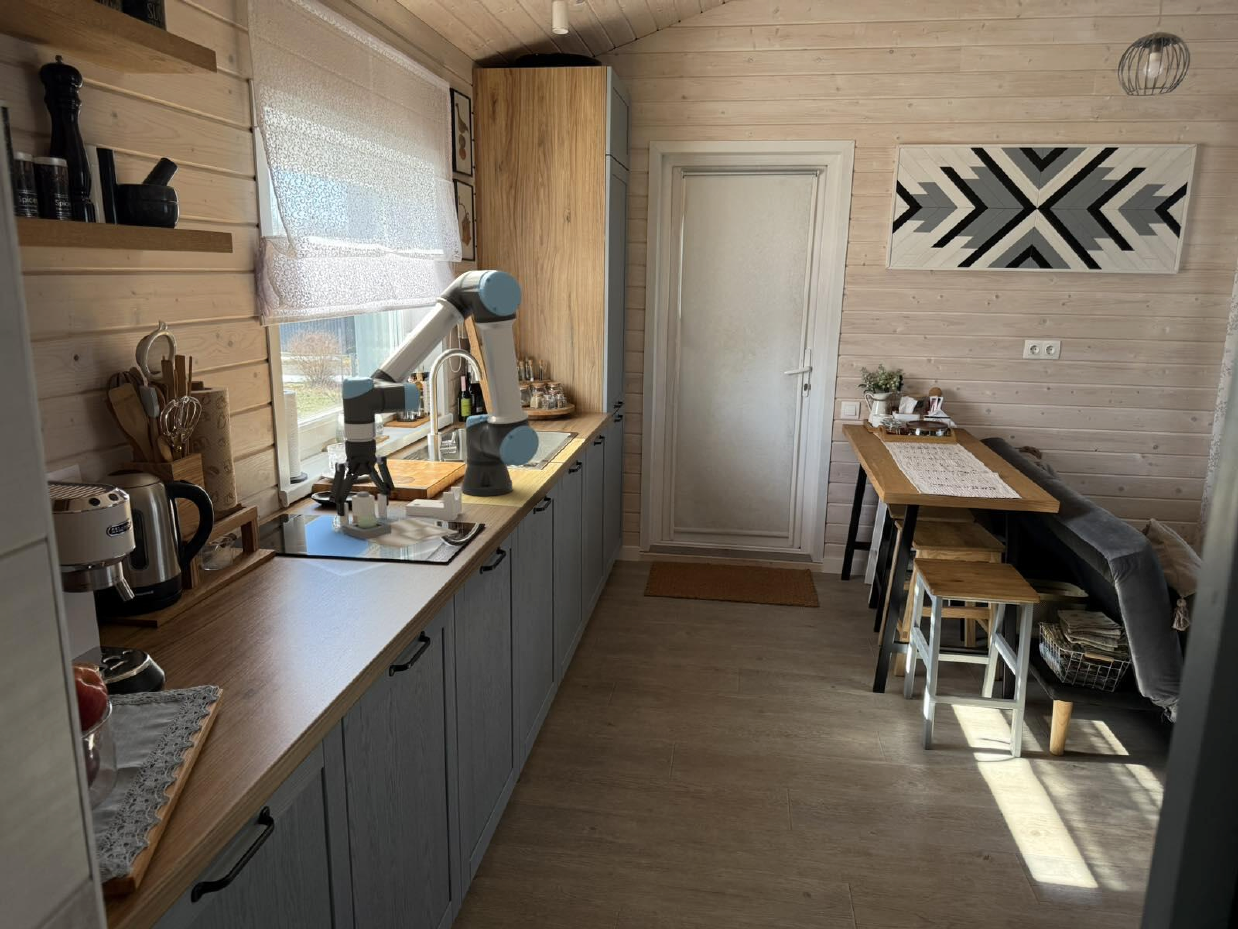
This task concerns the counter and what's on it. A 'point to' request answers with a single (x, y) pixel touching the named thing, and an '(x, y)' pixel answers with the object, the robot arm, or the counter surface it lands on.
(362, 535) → the button housing
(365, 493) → the white tall block
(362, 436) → the robot arm
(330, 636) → the counter surface
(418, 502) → the bracket
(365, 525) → the button
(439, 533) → the cloth
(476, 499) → the counter surface
